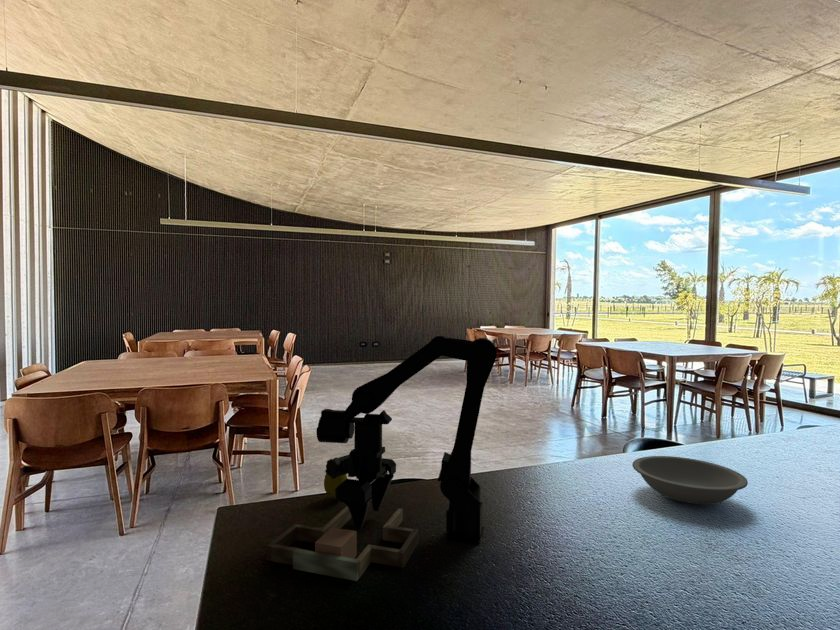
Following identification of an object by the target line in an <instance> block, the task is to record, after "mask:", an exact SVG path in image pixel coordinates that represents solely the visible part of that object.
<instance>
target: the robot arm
mask: <svg viewBox="0 0 840 630" xmlns="http://www.w3.org/2000/svg"><path fill="white" fill-rule="evenodd" d="M496 348H497V347H496V346H495V344H494V342H493V341H492V340H490V339H488V338H485V337H478V338H476V339H474V340H469V339H462V338H461V339H460V338H454V337H447V336H446V335H437V336H435V337H432V339H431V340H430V341H428V342H427V343H426V344H425V345H424V346H422V347H421V348H419V349H418V350H417V351H416V352H414V353H413V354H411V355H410V356H409V357H406V359H405V360H403V361H402V362H401V363H399V364H398V365H397V366H395V367H393V369H391V370H390V371H388V372H386V373H384V374H383V375H380V376H378V377H376V378H374V379H372V380H370V381H367V382H366V383H363V384H362V385H360V386H358V387H357V388H355V389H354V390H353V392H352V394H351V395H352V396H351V402H350V404H349V405H348V406H347V407H346V408H345V410H341V409H339V410H338V409H337V410H336V409H332V408H324V409H323V410H321V411H320V417H319V420H318V423H317V427H316V439H317V441H318V442H319V443H329V444H331V443H332V444H347V443H348V442H349V440H350V439H353V437H354V439H353V441H354V445H353V446H354V448H353V449H351V450H350V452H349V453H348V454H346V455H342V456H339V457H338V456H337V457H334V458H330V459H328V460H326V465H325V471H324V473H325V475H326V474H328V476H330V477H331V478H332V479H334V478H336V477H338V476H341V475H345V474H346V475H347V479H346V480H345V481H343V482H342V483H341V484H340V485H339V486H338V487H337V488H335V499H334V500H335V501H338V502H339V503H343V504H345V505H346V506H348V508H349V510H350V513H351V516H352V518H351V519H352V522H353V525H354V526H353V527H354V529H355V531H361V530H362V529H363V526H364V524H365V523H364V522H365V521H366V518H367V514H368V511H369V508H370V504H372V509H373V511H374V512H379V511H380V508H381V506H382V503H383V501H384V498H385V496H386V494H387V492H388V489H389V486H391V483H392V481H393V478H394V476H395V473H397V462H395V461H394V459H393V458H385V457H384V458H383V454H384V453H386V447H385V446H383V425H389V424H390V423H391V421H392V420H393V418H392V417H391V416H390V415H389V414H388V413H387V412H386V411H385V410H382V411H381V412H380V413H373V412H374V411H376V410H377V409H378V408H379V407H381V406H382V405H383V404H384V403H385V402H386V400H388V399H389V398H390V396H392V395H393V393H394V392H395V391H396V390H397V389H398V388H399V387H400V386H401V385H402V384H404V383H405V382H407V381H408V380H409V379H411V378H412V377H413V376H416V374H417V373H419V372H421V371H422V370H423V369H426V367H428V365H431V363H433V362H435V361H436V360H437V359H438V358H440V357H447V358H452V359H455V360H460V361H466V384H465V385H466V386H465V390H464V394H463V400H462V405H461V410H460V415H459V418H458V419H459V421H458V425H457V429H456V434H455V439H454V445H453V447H452V450H451V451H450V452H451V453H448V452H444V453H443V456H442V458H441V459H442V460H441V466H440V471H439V474H438V477H437V482H440V483H439V485H440V486H439V488H440V492H441V493H442V496H444V497H445V498H446V499H447V500H448V501H449V504H448V508H447V509H446V512H445V522H446V523H445V530H446V532H447V534H446V539H447V540H451V541H456V542H457V541H458V542H465V543H471V544H480V543H481V540H482V537H483V534H484V531H485V528H484V526H483V502H482V501H481V492H482V491H481V489H482V487H481V485H480V484H479V483H478V482H477V481H476V480H475V479H474V478H473V477H472V449H473V446H474V445H473V444H474V439H475V435H476V430H477V425H478V420H479V415H480V410H481V406H482V405H481V404H482V399H483V394H484V389H485V387H486V384H487V381H488V379H489V377H490V374H491V372H492V370H493V367H494V365H495V363H496V360H497V356H498V355H497V352H498V351H497V349H496ZM360 414H364V416H363V417H358V416H359V415H360ZM352 478H356V479H352Z"/></svg>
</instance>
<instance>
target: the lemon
mask: <svg viewBox="0 0 840 630" xmlns="http://www.w3.org/2000/svg"><path fill="white" fill-rule="evenodd" d="M346 479H348V474H345V475H341V476H338V477H336V478H334V479H332V478H331V477H330V476H328V474H326V473H325V475H324V480H323V488H324V491H325V493H326V494H327V493H331V494H327V495H328V496H329V497H330V498H333V499H334V500H336V499H335V493H333V492H335V488H337V487H338V486H339V485H340V484H341V483H342V482H343V481H345V480H346Z"/></svg>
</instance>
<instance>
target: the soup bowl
mask: <svg viewBox="0 0 840 630" xmlns="http://www.w3.org/2000/svg"><path fill="white" fill-rule="evenodd" d="M632 468H633V470H635V472H637V473H638V474H640V475H641V477H642V478H643V480H644V481H645V482H646V484H647V485H648V486H649V487H650V488H651V489H653V490H654V491H655V492H657V493H658V494H660V495H663V496H664V497H667V498H669V499H672V500H674V501H679V502H683V503H688V504H694V505H713V504H718V503H722V502H725V501H726V500H729V499H730V498H733V496H734V495H735V494H736V493H737V492H738V491H739V490H742V489H745V488H746V487H747V486H748V484H749V482H748V479H747V477H745V476H744V475H743V474H741V473H740V472H738V471H736V470H734V469H731V468H728V467H726V466H723V465H720V464H717V463H714V462H709V461H706V460H700V459H694V458H689V457H688V458H687V457H684V456H683V457H681V456H674V455H673V456H671V455H652V456H643V457H638V458H636V459H635V460H633V461H632Z"/></svg>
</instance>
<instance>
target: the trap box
mask: <svg viewBox="0 0 840 630" xmlns="http://www.w3.org/2000/svg"><path fill="white" fill-rule="evenodd" d="M403 514H404V509H403V508H399V507H398V508H397V509H396V511H395V512H394V513H393V514H392V515H391V517H390V518H389V519H388V520H387V521H386V523H385V524H384V525H383V526H382V541H387V542H393V543H399V544H402V546H401V548H400V549H398V548H394V547H393V548H392V547H387V546H382V545H381V546H380V545H374V544H369V543H368V544H367V545H366V547H365V548H364V549H363V550H362V552H361V553H360V554H359V555H358V556H357V557H356V558H354V559H353V558H348V557H342V556H336V555H331V554H325V553H319V552H315V550H314V551H312V550H309V549H308V550H307V549H303V548H298V547H292V546H291V545H292V544H293V543H294V542H295V541H300V542H301V541H302V542H308V543H314V544H315V542H316V541H317V540H319V539H320V538H321V537H322V536H323V535H324V534H325V533H326V532H327V531H329V530H330V529H331V528H332V527H334V528H340V529H343V528H342V527H344V526H345V525H346V524H347V523H348V522H349V521H350V520H351V519H352V516H351V513H350V510H349V508H348V506H347V505H346V506H345V507H344V508H343V509H342V510H341V511H340V512H339V513H338V514H336V515H335V516H334V517H333V518H332V519H330V521H328V522H327V523H326V524H325V525H324V526H323V527H316V526H311V525H304V524H300V523H299V524H298V523H294V524H293V525H291V527H289V528H288V529H287V530H285V531H283V532H282V533H281V534H280V535H279V536H277V537H276V538H275V539H274V540H272V541H271V542H270V543H269V544H267V545H266V561H268V562H274V563H279V564H285V565H290V566H292V569H293V570H296V571H297V570H298V571H302V572H307V573H313V574H317V575H323V576H327V577H328V576H329V577H333V578H338V579H345V580H350V581H354V582H358V580H359V579H360V578H361V577H362V575H363V574H364V573H365V571H366V570H367V568H369V566H370V565H371V563H375V564H380V565H385V566H389V567H390V566H391V567H396V568H402V569H404V568H405V566H406V564H407V563H408V561H409V560H410V558H411V557H412V555H413V553H414V551H415V550H416V548H417V547H418V545H419V543H420V542H419V538H420V535H419V533H420V529H416V528H409V527H401V526H400V525H401V524H402V522H404V520H403V518H404V515H403Z"/></svg>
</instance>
